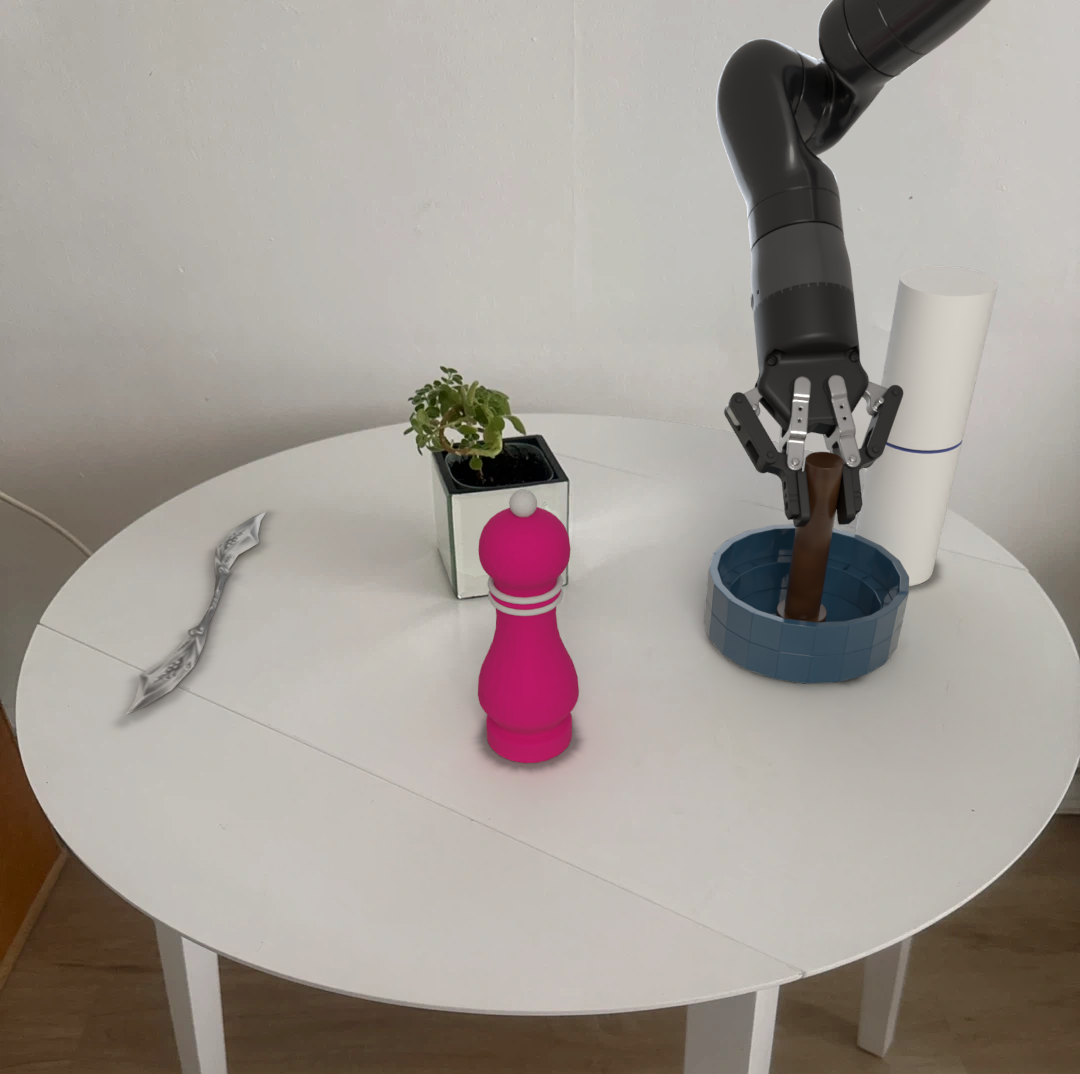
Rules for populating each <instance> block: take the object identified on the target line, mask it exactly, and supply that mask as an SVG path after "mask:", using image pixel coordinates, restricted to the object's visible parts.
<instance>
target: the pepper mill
mask: <svg viewBox="0 0 1080 1074" xmlns="http://www.w3.org/2000/svg"><path fill="white" fill-rule="evenodd" d="M508 504H509V505H508V506H509V507H508V508H505V509H502V510H501V511H498V512H497V513H495V514H494V515H492V516H491V517H490V518H489V519H488V521H487V522H486V523H485V525H484V526H483V528H482V530H481V533H480V535H479V540H478V560H479V562H480V565H481V568H482V570H483V571H484V572H485V573H486V575H488V578H487V579H488V580H487V588H488V593H487V597H488V600H489V603H490V604H491V605H492V607H494V608H495V614H496V615H495V616H496V617H495V629H494V633H493V638H492V641H491V643H490V646H489V649H488V650H487V653H486V655H485V656H484V659H483V662H482V664H481V666H480V671H479V674H478V680H477V698H478V702H479V705H480V707H481V709H482V710H483V712H484V713H485V714H486V719H485V721H486V722H485V723H486V740H487V744H488V745H489V747H490V748H491V749H492V750H493V751H494V752H495V754H497V755H498V756H500V757H502V758H504V759H506V760H509V761H510V762H516V763H522V764H536V763H541V762H546V761H547V762H548V761H549V760H551V759H553V758H556V757H558V756H559V755H561V754H562V753H563V752H564V751H565V750H567V748H568V747H569V745H570V743H571V741H572V739H573V716H572V712H573V710H574V709H575V707H576V705H577V702H578V701H579V695H580V687H579V677H578V674H577V670H576V667H575V663H574V662H573V659H572V657H571V656H570V654H569V652H568V650H567V648H566V646H565V644H564V642H563V640H562V638H561V637H562V636H561V634H560V631H559V627H558V619H557V618H558V617H557V606H558V605H560V603H561V602H562V600H563V597H564V591H563V585H564V579H563V577H562V574H563V573H564V571H565V570H566V569H567V567H568V566H569V562H570V558H571V542H570V536H569V533H568V531H567V528H566V526H565V524H564V523H563V522H562V520H560V518H558V517H557V516H556V515H555V514H554V513H552V512H551V511H549V510H547V509H545V508H542V507H539V506H538V501H537V496H536V495H535V494H534V493H533V492H532V491H531V490H529V489H526V488H525V489H523V488H522V489H521V488H520V489H518V490H516V491H515V492H513V493H512V494H511V496H510V498H509V502H508Z"/></svg>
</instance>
